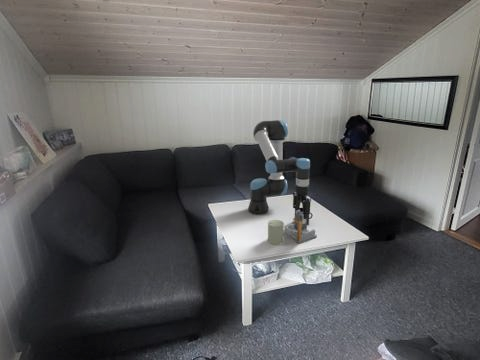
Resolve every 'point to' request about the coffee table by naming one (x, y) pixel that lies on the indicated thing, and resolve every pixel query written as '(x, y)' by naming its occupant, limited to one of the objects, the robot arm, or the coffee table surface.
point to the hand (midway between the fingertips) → (300, 221)
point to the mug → (307, 215)
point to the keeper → (298, 232)
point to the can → (275, 232)
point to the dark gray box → (299, 217)
